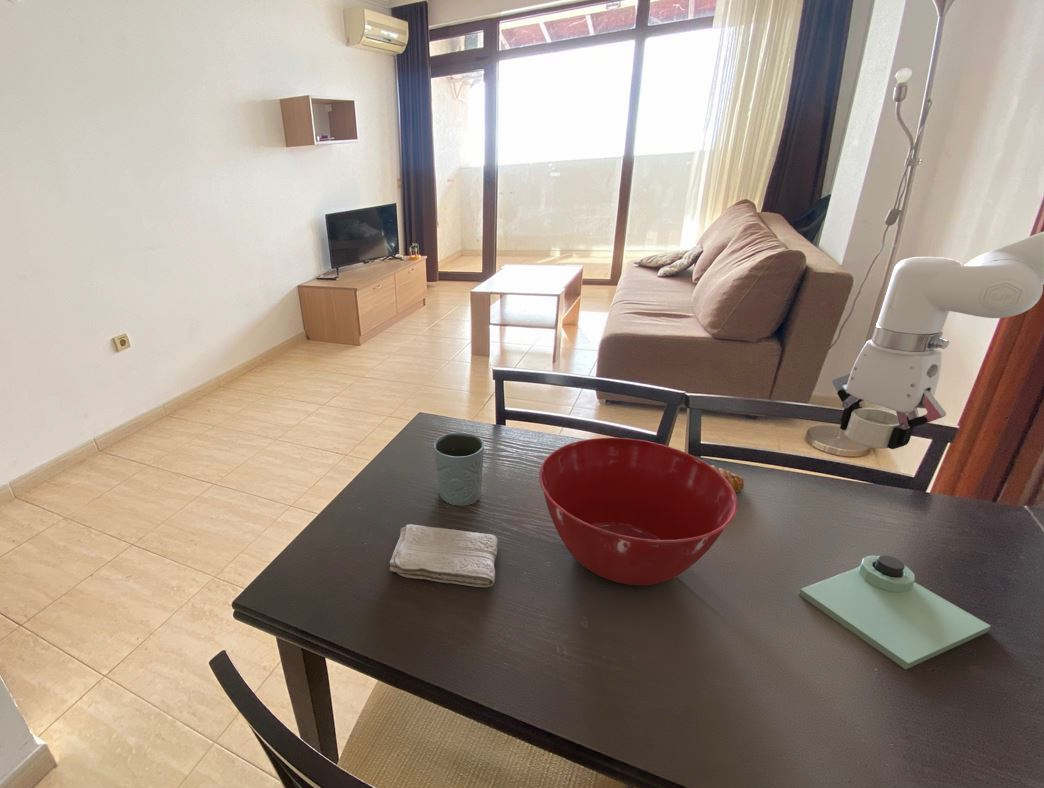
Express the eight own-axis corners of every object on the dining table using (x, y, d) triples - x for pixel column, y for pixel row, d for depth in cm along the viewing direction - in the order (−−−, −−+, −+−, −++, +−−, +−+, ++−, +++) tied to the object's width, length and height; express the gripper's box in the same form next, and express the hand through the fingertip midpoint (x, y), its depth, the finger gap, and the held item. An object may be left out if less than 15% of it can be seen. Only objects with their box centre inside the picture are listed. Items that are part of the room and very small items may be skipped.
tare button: (883, 561, 83) (887, 552, 82) (905, 574, 80) (909, 565, 79) (869, 567, 82) (872, 558, 81) (891, 580, 79) (895, 571, 79)
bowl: (863, 428, 96) (870, 404, 94) (906, 444, 90) (915, 420, 88) (835, 436, 95) (842, 412, 93) (877, 453, 89) (886, 429, 87)
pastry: (738, 479, 109) (742, 463, 107) (745, 499, 103) (750, 482, 101) (686, 473, 112) (689, 458, 110) (690, 492, 106) (693, 475, 105)
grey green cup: (454, 514, 106) (453, 462, 101) (425, 490, 114) (423, 441, 109) (494, 496, 110) (495, 445, 105) (463, 475, 118) (462, 427, 113)
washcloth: (402, 532, 102) (401, 519, 101) (499, 543, 97) (499, 529, 96) (387, 577, 92) (386, 563, 90) (494, 591, 87) (494, 576, 86)
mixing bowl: (741, 637, 76) (765, 551, 69) (531, 604, 84) (535, 524, 77) (696, 515, 100) (712, 443, 93) (537, 499, 108) (541, 432, 102)
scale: (874, 566, 86) (880, 551, 84) (987, 632, 73) (996, 616, 72) (798, 594, 82) (803, 579, 80) (905, 669, 69) (913, 653, 68)
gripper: (992, 350, 78) (948, 455, 86) (862, 321, 93) (834, 413, 101) (956, 359, 76) (914, 466, 84) (830, 328, 92) (804, 421, 99)
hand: (871, 436), depth 92 cm, fingers closed on bowl, 6 cm apart
